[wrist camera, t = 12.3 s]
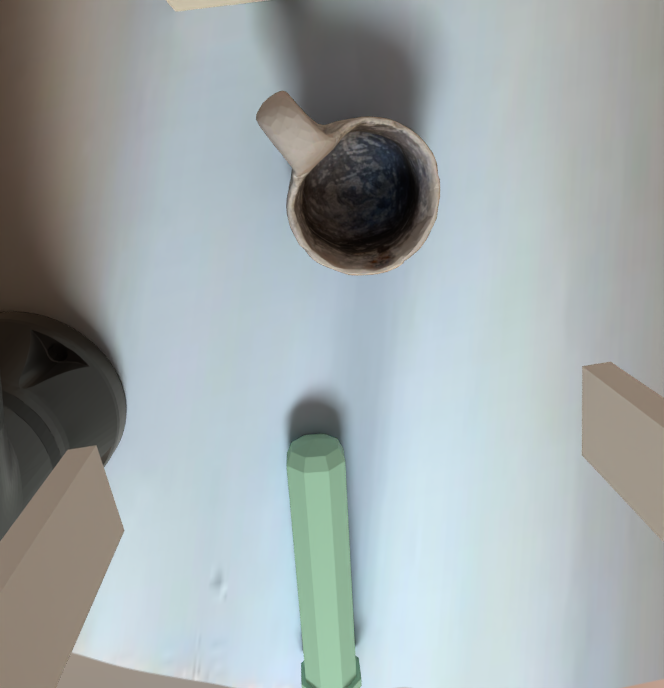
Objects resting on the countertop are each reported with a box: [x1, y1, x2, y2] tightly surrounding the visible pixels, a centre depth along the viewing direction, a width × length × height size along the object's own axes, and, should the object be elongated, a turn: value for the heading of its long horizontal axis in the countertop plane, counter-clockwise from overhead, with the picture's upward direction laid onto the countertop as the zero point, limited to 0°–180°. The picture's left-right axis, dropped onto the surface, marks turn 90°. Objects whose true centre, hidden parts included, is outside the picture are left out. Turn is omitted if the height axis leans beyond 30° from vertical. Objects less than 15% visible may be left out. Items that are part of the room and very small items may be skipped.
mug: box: [256, 91, 440, 275], centre depth 36 cm, size 10×12×10 cm
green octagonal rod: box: [287, 434, 362, 688], centre depth 49 cm, size 6×6×25 cm
